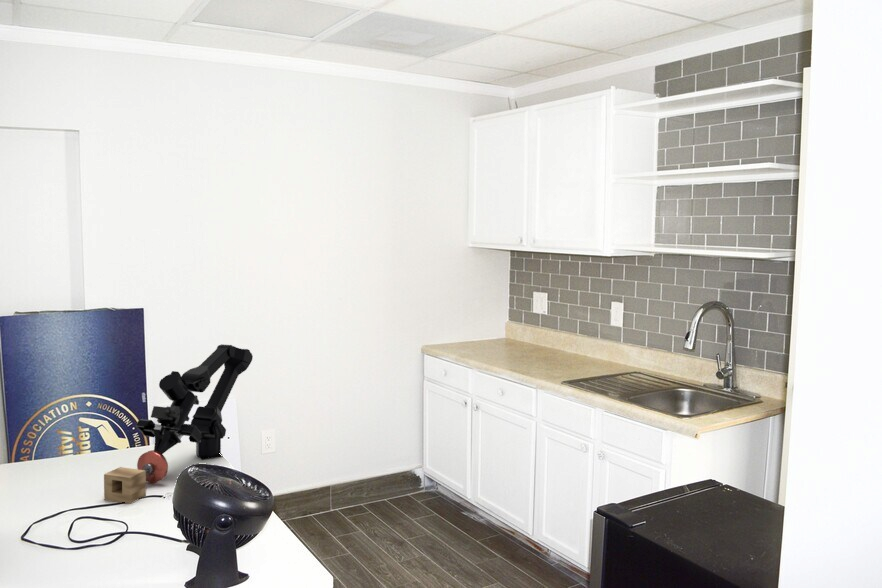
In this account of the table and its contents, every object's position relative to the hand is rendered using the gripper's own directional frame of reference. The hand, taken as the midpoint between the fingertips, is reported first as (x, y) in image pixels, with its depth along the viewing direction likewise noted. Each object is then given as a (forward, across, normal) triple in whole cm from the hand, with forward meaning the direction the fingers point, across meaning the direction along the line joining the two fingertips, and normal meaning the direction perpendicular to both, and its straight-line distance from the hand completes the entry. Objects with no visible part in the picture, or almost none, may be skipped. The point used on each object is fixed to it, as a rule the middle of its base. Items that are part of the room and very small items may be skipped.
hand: (155, 457), depth 195 cm
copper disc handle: (+9, 0, +1) cm, 9 cm away
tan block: (+14, 0, -3) cm, 14 cm away
